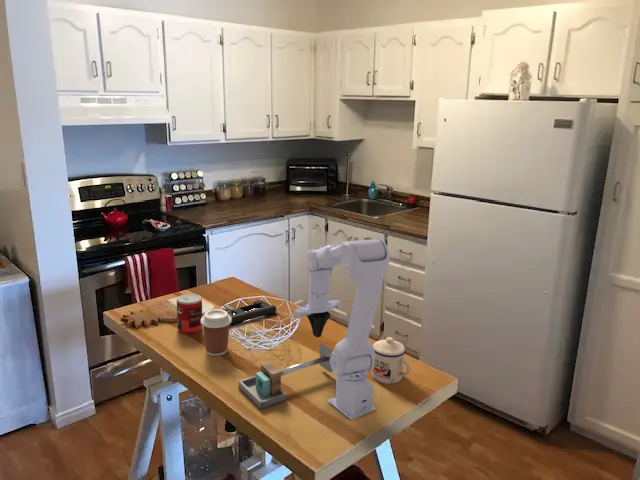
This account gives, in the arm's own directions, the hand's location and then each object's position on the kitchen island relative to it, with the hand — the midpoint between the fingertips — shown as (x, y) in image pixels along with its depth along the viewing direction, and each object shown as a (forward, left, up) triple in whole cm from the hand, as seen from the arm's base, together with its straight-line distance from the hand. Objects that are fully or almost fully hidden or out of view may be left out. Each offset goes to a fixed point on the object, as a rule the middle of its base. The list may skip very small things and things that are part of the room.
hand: (317, 335), depth 149 cm
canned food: (+41, +21, -10) cm, 48 cm away
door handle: (+44, 0, -10) cm, 45 cm away
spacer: (-5, +20, -9) cm, 23 cm away
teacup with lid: (-17, -14, -10) cm, 24 cm away
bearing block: (-5, +18, -10) cm, 21 cm away
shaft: (-5, +8, -8) cm, 12 cm away
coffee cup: (+23, +20, -10) cm, 32 cm away
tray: (-5, +20, -10) cm, 23 cm away
